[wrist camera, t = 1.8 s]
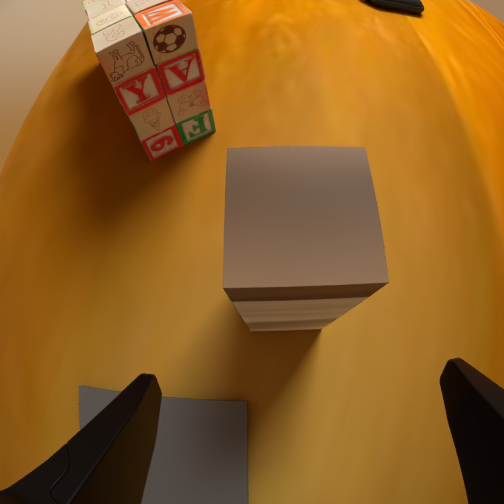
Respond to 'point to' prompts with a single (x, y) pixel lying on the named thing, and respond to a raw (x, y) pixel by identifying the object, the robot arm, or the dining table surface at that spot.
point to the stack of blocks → (153, 69)
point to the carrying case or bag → (400, 5)
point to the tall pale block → (300, 235)
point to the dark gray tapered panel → (190, 449)
